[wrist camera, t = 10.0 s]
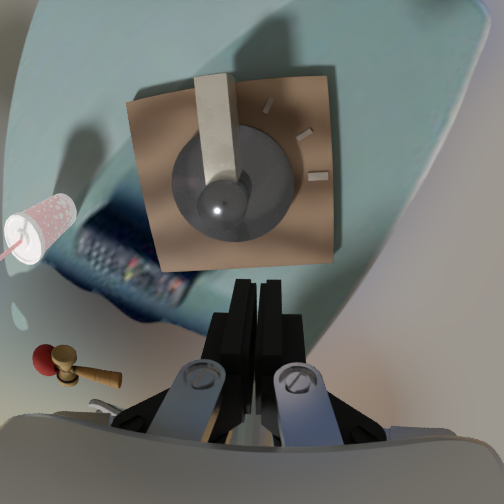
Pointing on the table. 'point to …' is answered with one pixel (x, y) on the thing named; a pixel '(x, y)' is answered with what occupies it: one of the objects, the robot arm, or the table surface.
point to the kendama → (70, 367)
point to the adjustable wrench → (103, 407)
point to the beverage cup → (38, 228)
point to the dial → (230, 170)
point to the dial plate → (278, 127)
